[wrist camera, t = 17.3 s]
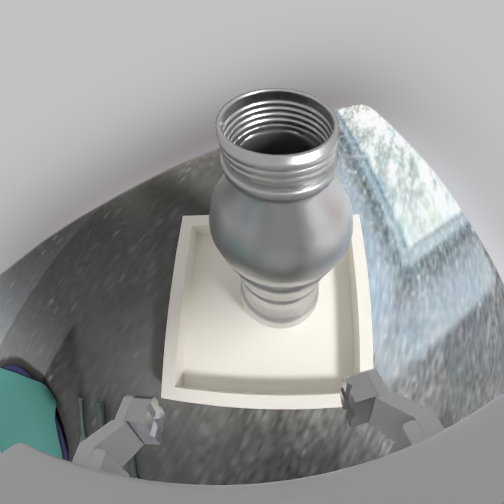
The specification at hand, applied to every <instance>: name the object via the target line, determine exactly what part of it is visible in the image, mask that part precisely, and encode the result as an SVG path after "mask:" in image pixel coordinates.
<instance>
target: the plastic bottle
mask: <svg viewBox="0 0 504 504" xmlns="http://www.w3.org/2000/svg"><path fill="white" fill-rule="evenodd" d="M215 124H216V135H217V138H218V142H219V146H220V149H221V150H220V160H221V164H222V168H223V171H224V174H223V176H222V177H221V179H220V180H219V182H218V183H217V185H216V186H215V189H214V191H213V194H212V197H211V203H210V211H209V227H210V233H211V236H212V238H213V241H214V244H215V245H216V247H217V248H218V250H219V252H220V253H221V255H222V256H223V258H224V259H225V261H226V262H227V263H228V264H229V265H230V266H231V267H232V268H233V269H234V270H235V271H236V272H237V274H238V275H239V276H240V278H241V299H242V302H243V305H244V307H245V309H246V310H247V312H248V313H249V315H250V316H251V317H252V318H253V319H255V320H256V321H257V322H259V323H260V324H263V325H265V326H267V327H271V328H279V329H284V328H290V327H293V326H296V325H299V324H300V323H302V322H303V321H305V320H306V319H307V318H308V317H309V316H310V315H311V314H312V312H313V311H314V309H315V307H316V304H317V301H318V295H319V284H318V283H319V281H320V280H321V279H322V278H323V277H324V276H325V275H326V274H327V273H328V272H329V271H330V270H331V269H332V268H333V267H334V266H335V265H336V264H337V263H338V262H339V260H340V259H341V258H342V257H343V255H344V253H345V251H346V250H347V248H348V246H349V244H350V241H351V238H352V234H353V211H352V205H351V200H350V197H349V195H348V192H347V190H346V188H345V186H344V185H343V184H342V182H341V181H340V179H339V178H338V177H337V175H336V174H335V173H336V169H337V163H338V153H337V144H338V138H339V122H338V119H337V116H336V114H335V113H334V111H333V110H332V109H331V108H330V107H329V106H328V105H327V104H326V103H325V102H323V101H322V100H320V99H319V98H317V97H315V96H312V95H310V94H308V93H305V92H302V91H298V90H293V89H284V88H266V89H259V90H254V91H250V92H247V93H244V94H242V95H239V96H237V97H236V98H234V99H232V100H230V101H229V102H228V103H226V104H225V106H223V108H222V109H221V110H220V111H219V113H218V115H217V118H216V123H215Z"/></svg>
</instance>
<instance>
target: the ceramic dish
mask: <svg viewBox="0 0 504 504" xmlns="http://www.w3.org/2000/svg"><path fill="white" fill-rule="evenodd" d="M318 284H319V295H318V301H317V304H316V307H315V309H314V311H313V312H312V314H311V315H310V316H309V317H308V318H307V319H306V320H305V321H303V322H302V323H300V324H299V325H296V326H293V327H290V328H284V329H279V328H271V327H267V326H265V325H263V324H260V323H259V322H257V321H256V320H255V319H253V318H252V317H251V316H250V315H249V313H248V312H247V310H246V309H245V307H244V305H243V302H242V299H241V278H240V276H239V275H238V274H237V272H236V271H235V270H234V269H233V268H232V267H231V266H230V265H229V264H228V263H227V262H226V261H225V259H224V258H223V256H222V255H221V253H220V252H219V250H218V248H217V247H216V245H215V244H214V241H213V238H212V236H211V233H210V227H209V215H194V216H183V218H182V223H181V229H180V234H179V240H178V246H177V252H176V258H175V265H174V271H173V278H172V286H171V293H170V301H169V309H168V318H167V327H166V337H165V348H164V360H163V373H162V390H161V398H165V399H171V400H177V401H183V402H190V403H197V404H205V405H214V406H224V407H236V408H253V409H318V408H334V407H343V406H342V403H341V398H340V390H341V388H342V387H343V386H342V383H341V381H342V377H344V376H348V375H352V374H356V373H359V372H364V371H367V370H370V369H373V339H372V319H371V304H370V293H369V282H368V273H367V264H366V256H365V249H364V242H363V235H362V229H361V223H360V217H359V214H353V234H352V238H351V241H350V244H349V246H348V248H347V250H346V251H345V253H344V255H343V257H342V258H341V259H340V260H339V262H338V263H337V264H336V265H335V266H334V267H333V268H332V269H331V270H330V271H329V272H328V273H327V274H326V275H325V276H324V277H323V278H322V279H321V280H320V281H319V283H318Z"/></svg>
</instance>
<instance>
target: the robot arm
mask: <svg viewBox="0 0 504 504" xmlns="http://www.w3.org/2000/svg"><path fill="white" fill-rule="evenodd" d="M341 383H342V386H343V387H342V388H341V390H340V398H341V403H342V406H343V409H345V410H347V413H346V417H347V420H348V422H349V425H350V427H351V426H355V425H359V424H363V423H366V422H368V423H369V424H371V425H372V426H373V427H375V428H376V429H378V430H379V431H380V432H382V433H383V434H385V435H386V436H388V437H389V438H391V439H392V440H393V441H395V443H394V445H393V447H392V448H391V450H390V452H389V454H388V455H386V456H383V457H380V458H377V459H374V460H371V461H368V462H365V463H362V464H359V465H355V466H352V467H348V468H345V469H341V470H337V471H333V472H328V473H324V474H319V475H315V476H309V477H304V478H298V479H292V480H285V481H277V482H268V483H258V484H243V485H192V484H177V483H167V482H158V481H151V480H144V479H138V478H132V477H130V475H129V474H128V473H127V472H126V471H125V470H124V469H123V468H122V467H123V466H124V465H125V464H126V463H127V462H128V461H129V460H130V459H131V458H132V457H133V456H134V455H135V454H136V453H137V452H138V451H139V449H140V448H141V447H142V446H143V445H144V444H154V445H160V444H161V440H162V435H163V433H162V432H161V429H162V428H163V427H165V422H166V421H165V413H164V411H163V409H162V408H161V407H160V406H158V403H159V402H158V400H157V398H156V397H143V396H129V395H126V396H125V397H124V398H123V400H122V402H121V405H120V407H119V409H118V412H117V414H116V417H115V419H114V420H111V421H109V422H108V423H107V424H105V425H104V426H103V427H101V428H100V429H99V430H97V431H96V432H95V433H93V434H92V435H90V436H89V437H88V438H86V439H85V440H84V441H82V442H81V443H80V444H79V446H78V448H77V450H76V453H75V455H74V458H73V460H72V462H70V461H67V460H64V459H61V458H59V457H56V456H53V455H51V454H48V453H46V452H43V451H41V450H38V449H36V448H34V447H32V446H29V445H27V444H25V443H17V444H15V445H13V446H11V447H10V448H8V449H6V450H5V451H3V452H2V453H1V455H0V504H504V394H501V395H499V396H497V397H496V398H494V399H493V400H491V401H490V402H489V403H487V404H486V405H484V406H483V407H481V408H480V409H478V410H477V411H475V412H473V413H472V414H470V415H469V416H467V417H465V418H464V419H462V420H460V421H459V422H457V423H455V424H453V425H452V426H450V427H448V428H446V429H444V427H443V426H442V424H441V422H440V421H439V419H438V418H437V416H436V414H435V413H434V411H433V410H431V409H429V408H427V407H425V406H422V405H420V404H418V403H416V402H414V401H412V400H409V399H407V398H405V397H403V396H401V395H399V394H397V393H395V392H389V390H388V388H387V387H386V385H385V383H384V381H383V380H382V378H381V376H380V375H379V373H378V371H377V370H376V369H375V368H374V369H370V370H367V371H364V372H359V373H356V374H352V375H348V376H344V377H342V381H341Z"/></svg>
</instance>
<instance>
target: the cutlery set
mask: <svg viewBox="0 0 504 504" xmlns="http://www.w3.org/2000/svg"><path fill="white" fill-rule="evenodd" d="M77 398H78V401H79V411H80V429H81V436H80V441H79V442H80V443H81V442H82V441H84V440H85V439H86V438H87V437H86V435H85V428H84V420H83V399H84V398H82V397H77ZM95 404H96V414H97V421H98V428H99V429H100V428H101V427H103V426H104V425H105V421H104V403H99V402H95ZM56 405H57V401H56V399H55V398H54V396H53V394H52V393H51V391H50V390H49V388H48V387H47V386H46V385H44V384H42V383H41V382H38V381H35V380H34V378H33V377H32V376H31V375H30V374H29V373H28V372H27V371H25V370H23V369H22V368H20V367H19V366H17V365H4V366H3V367H1V368H0V452H1V453H2V452H3V451H5V450H6V449H8V448H10V447H11V446H13V445H15V444H17V443H25V444H27V445H29V446H32V447H34V448H36V449H38V450H41V451H43V452H46V453H48V454H51V455H53V456H56V457H59V458H61V459H64V460H67V461H69V459H68V451H67V447H66V444H65V440H64V436H63V432H62V429H61V426H60V424H59V422H58V419H57V417H56V414H55V410H56ZM129 470H130V477H132V478H138V479H139V477H137V471H136V460H135V455H134V456H133V457H132V458H131V459H130V460H129Z"/></svg>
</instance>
